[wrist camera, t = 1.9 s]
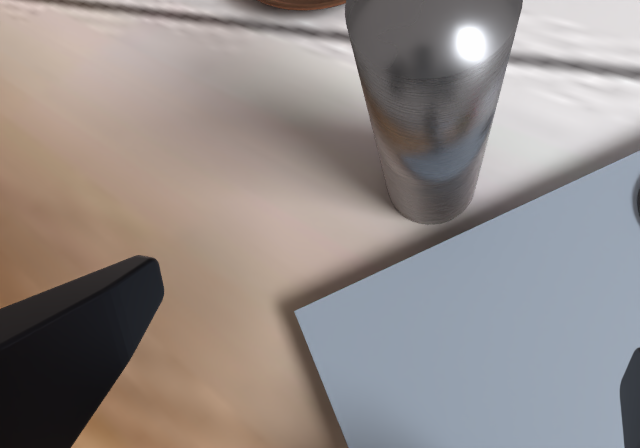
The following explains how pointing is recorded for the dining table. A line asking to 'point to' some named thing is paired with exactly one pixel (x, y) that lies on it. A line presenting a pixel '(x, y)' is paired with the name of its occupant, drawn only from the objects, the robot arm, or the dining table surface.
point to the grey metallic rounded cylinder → (431, 93)
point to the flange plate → (494, 329)
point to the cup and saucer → (303, 4)
